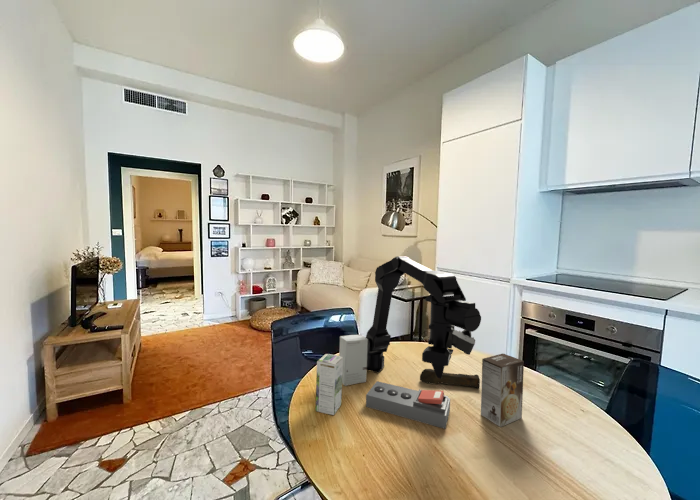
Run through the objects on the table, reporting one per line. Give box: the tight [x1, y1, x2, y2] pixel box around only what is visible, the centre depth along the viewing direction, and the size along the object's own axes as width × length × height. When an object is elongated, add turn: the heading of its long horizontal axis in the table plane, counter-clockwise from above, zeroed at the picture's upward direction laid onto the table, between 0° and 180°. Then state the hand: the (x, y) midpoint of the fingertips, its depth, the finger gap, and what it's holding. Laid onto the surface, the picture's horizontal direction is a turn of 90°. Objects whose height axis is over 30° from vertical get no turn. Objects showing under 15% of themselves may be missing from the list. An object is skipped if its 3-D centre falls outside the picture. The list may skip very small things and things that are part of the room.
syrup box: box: [315, 353, 343, 416], centre depth 84 cm, size 6×6×14 cm
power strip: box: [365, 380, 451, 430], centre depth 85 cm, size 22×9×4 cm, turn 65°
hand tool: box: [419, 368, 481, 390], centre depth 100 cm, size 19×4×5 cm, turn 78°
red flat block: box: [418, 389, 445, 404], centre depth 82 cm, size 6×5×1 cm
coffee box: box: [480, 353, 525, 428], centre depth 82 cm, size 9×6×16 cm
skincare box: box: [338, 334, 368, 387], centre depth 101 cm, size 8×6×15 cm
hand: (439, 377), depth 81 cm, fingers closed
